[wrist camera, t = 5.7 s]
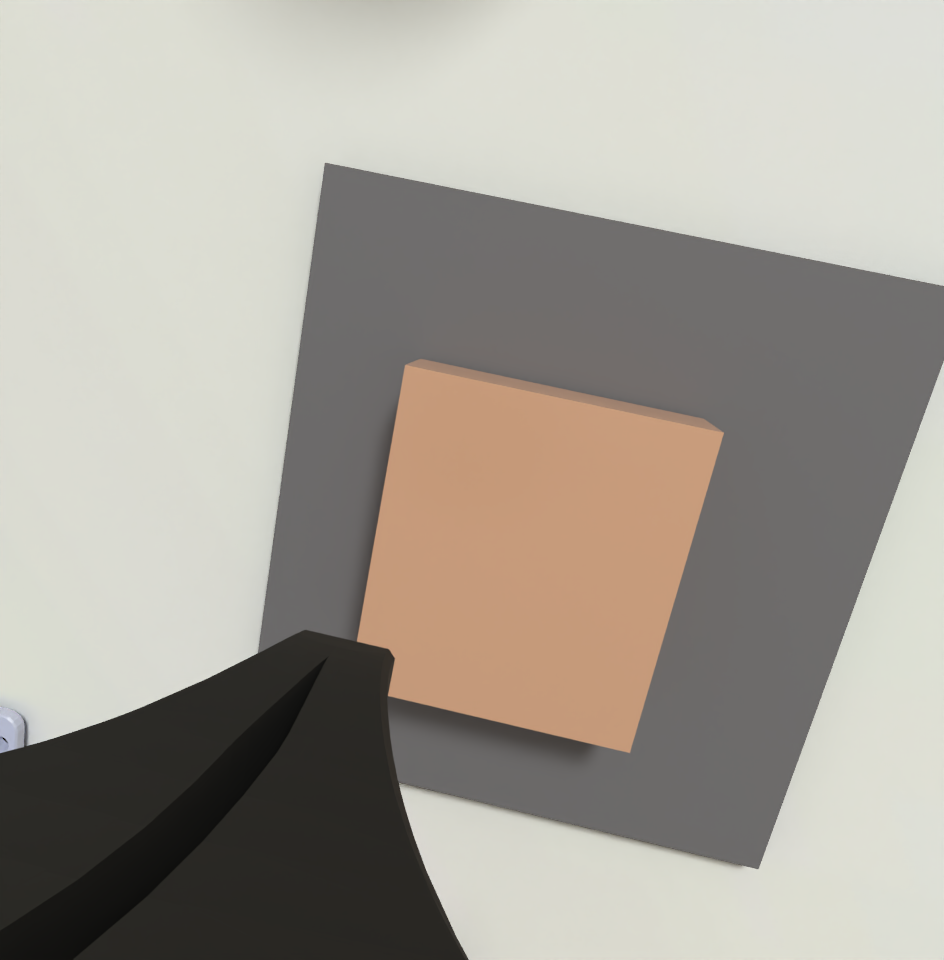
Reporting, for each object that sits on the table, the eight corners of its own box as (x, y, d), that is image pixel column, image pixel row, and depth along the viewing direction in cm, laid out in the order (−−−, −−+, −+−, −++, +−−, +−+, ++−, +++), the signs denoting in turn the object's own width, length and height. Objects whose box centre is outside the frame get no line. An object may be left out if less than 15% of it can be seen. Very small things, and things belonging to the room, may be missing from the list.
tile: (369, 646, 20) (620, 704, 19) (349, 686, 18) (630, 753, 17) (421, 358, 18) (702, 417, 17) (404, 365, 16) (723, 432, 15)
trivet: (752, 853, 21) (758, 869, 20) (253, 733, 21) (245, 744, 21) (954, 291, 17) (968, 290, 16) (332, 167, 17) (324, 162, 17)
